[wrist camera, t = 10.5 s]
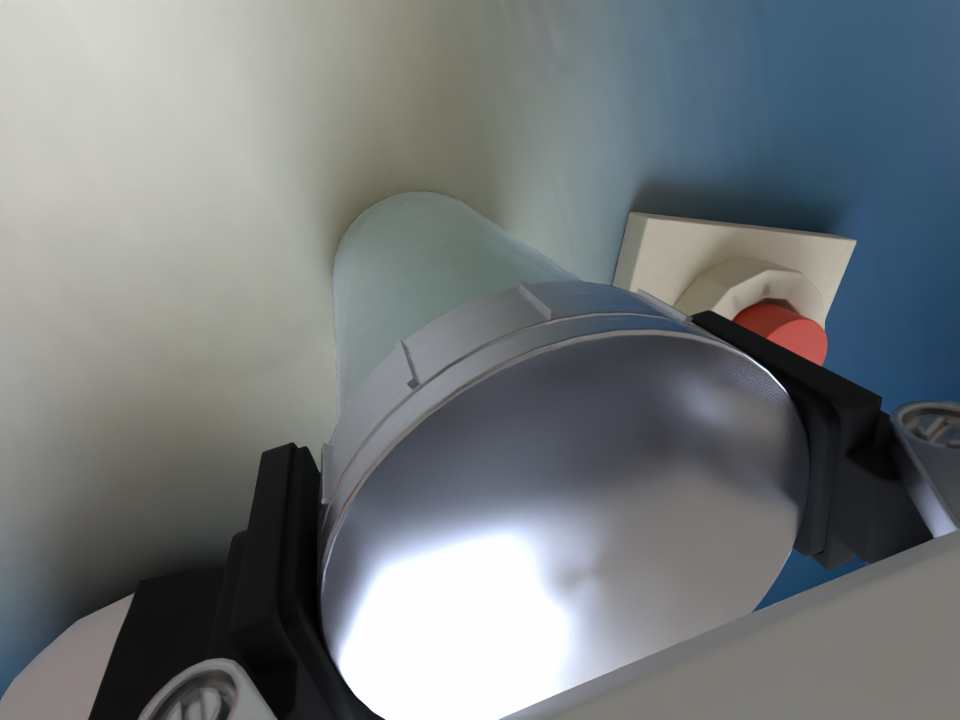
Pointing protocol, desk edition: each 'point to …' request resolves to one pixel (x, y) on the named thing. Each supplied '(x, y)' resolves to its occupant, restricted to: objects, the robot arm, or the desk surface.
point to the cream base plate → (731, 265)
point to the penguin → (121, 653)
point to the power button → (786, 330)
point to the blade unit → (548, 500)
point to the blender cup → (417, 275)
